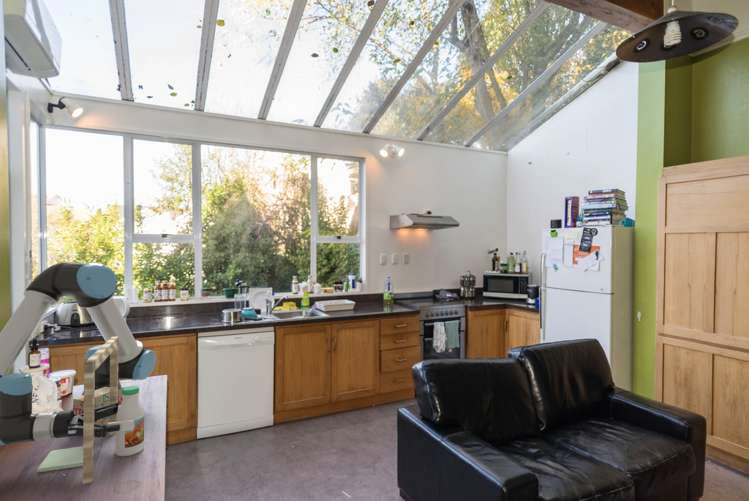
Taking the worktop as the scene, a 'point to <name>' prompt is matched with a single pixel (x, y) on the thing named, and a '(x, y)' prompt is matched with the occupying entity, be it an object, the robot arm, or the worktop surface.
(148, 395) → the worktop surface
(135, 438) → the milk bottle
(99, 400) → the stack of blocks
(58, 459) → the sage mat
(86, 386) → the door frame
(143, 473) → the worktop surface
